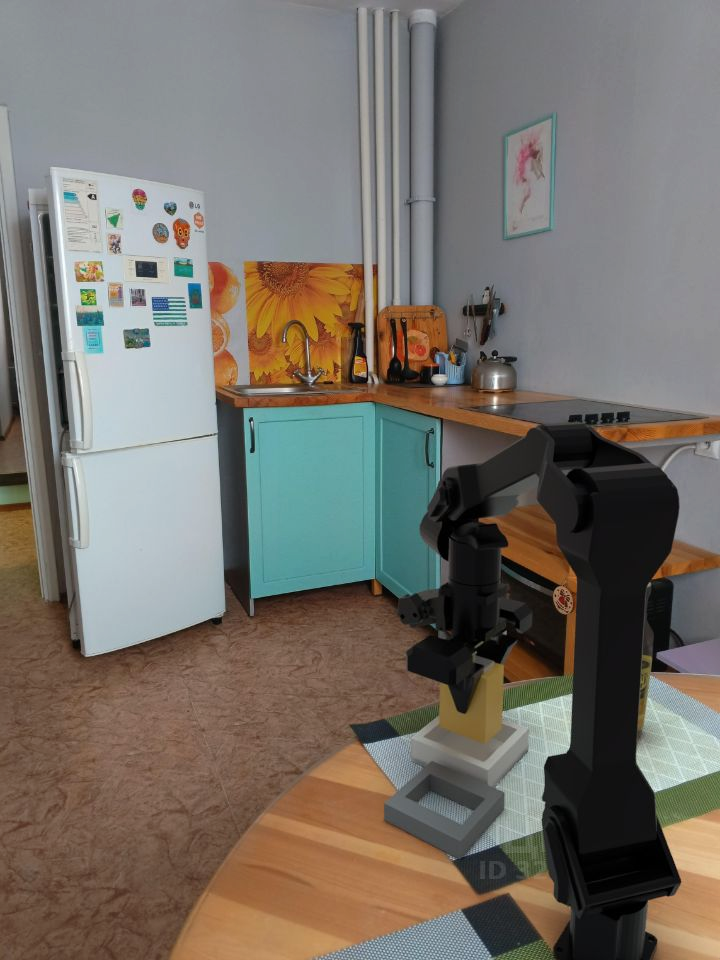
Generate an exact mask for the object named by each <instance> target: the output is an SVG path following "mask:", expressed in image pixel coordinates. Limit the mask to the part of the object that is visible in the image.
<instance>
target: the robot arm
mask: <svg viewBox="0 0 720 960" xmlns="http://www.w3.org/2000/svg"><path fill="white" fill-rule="evenodd" d="M536 488H537V491H536V492H537V493H536V501H537V502H538V504H539V505H540V506H541V508H542V509H544V511H545V512H546V514H547V515H548V516H549V517H550V518H551V520H552V521H553V522H554V523H555V533H556V544H557V547H558V548H559V550H560V552H561V553H562V555H563V556H564V558H565V560H566V562H567V563H568V565H569V566H570V568H571V570H572V571H573V573H574V575H575V576H576V596H575V597H576V598H575V618H574V619H575V620H574V621H575V622H574V644H573V645H574V646H573V647H574V648H573V673H572V694H571V695H572V696H571V719H570V722H571V723H570V743H569V748H568V750H567V751H566V752H565V753H560V754H559V753H558V754H554V755H548V756H547V757H546V761H545V763H544V765H543V775H544V779H543V780H544V788H543V792H542V796H541V801H542V802H544V808H543V809H544V810H543V811H542V814H541V820H540V821H541V827H542V835H543V836H542V837H543V844H544V852H545V859H546V867H547V871H548V875H549V878H550V879H551V881H552V883H553V897H554V899H555V900H556V902H557V903H559V904H562V905H565V906H567V907H568V908H569V907H570V914H569V915H570V917H569V921H568V923H567V924H566V925H565V927H564V929H563V931H562V932H561V934H560V935H559V937H558V938H557V940H556V942H555V943H554V945H553V949H552V954H553V956H554V957H555V958H556V959H558V960H652V958H653V956H654V954H655V952H656V949H657V948H658V938H657V937H656V936H655V935H654V934H651V933H650V932H648V931H646V929H647V919H648V906H649V901H652V900H656V899H659V898H664V897H667V898H670V897H673V896H675V895H676V893H677V891H679V889H680V887H681V886H682V885H681V884H682V879H681V876H680V873H679V871H678V868H677V866H676V863H675V860H674V858H673V855H672V852H671V849H670V847H669V845H668V842H667V839H666V837H665V834H664V831H663V829H662V826H661V823H660V820H659V818H658V815H657V804H656V793H655V791H654V789H653V788H652V785H651V784H650V783H649V781H648V780H647V778H646V777H645V774H644V773H643V771H642V770H641V768H640V767H639V765H638V763H637V749H638V748H637V747H638V739H637V735H638V719H639V702H640V686H641V670H642V653H643V637H644V621H645V604H646V591H647V586H648V584H649V583H651V581H652V580H653V578H654V577H655V576H656V574H657V573H658V572H659V570H660V569H661V567H662V566H663V564H664V563H665V561H666V560H667V558H668V557H669V555H670V554H671V552H672V550H673V545H674V541H675V535H676V531H677V526H678V520H679V516H680V515H679V514H680V508H681V507H680V505H681V504H680V494H679V490H678V488H677V486H676V485H675V484H674V483H673V481H672V480H671V479H670V478H669V477H668V474H666V472H665V471H664V470H663V469H662V467H660V466H657V465H656V464H653V462H651V461H650V460H649V459H648V458H647V457H645V456H644V455H643V454H641V453H640V452H638V451H636V450H633V449H630V448H629V447H626V446H624V445H622V444H620V443H617V442H615V441H613V440H610V439H608V438H607V437H603V436H602V435H601V434H600V433H599V432H598V431H597V430H596V429H595V428H594V427H593V426H591V425H590V424H585V423H583V422H581V421H572V422H569V421H568V422H551V423H540V424H537V425H536V426H535V427H532V428H531V427H530V429H528V431H527V432H526V434H525V435H524V436H523V437H521V438H519V439H518V440H517V441H514V442H513V443H511V444H510V445H509V446H507V447H506V448H503V449H502V450H501V451H499V452H497V453H496V454H494V455H492V456H490V457H489V458H487V459H486V460H484V461H482V462H479V463H471V464H462V465H455V466H450V467H446V469H445V470H444V472H443V473H442V475H441V478H440V479H439V481H438V484H437V486H436V489H435V492H434V493H433V496H432V497H431V500H430V501H429V504H428V505H427V507H426V508H427V512H426V513H425V514H424V516H423V517H422V519H421V522H420V524H419V534H420V535H419V536H420V538H421V540H422V541H423V542H424V543H425V545H427V546H428V547H429V548H430V549H431V550H433V552H435V554H437V555H438V556H439V557H441V558H442V559H443V560H444V561H446V562H448V574H447V575H448V580H447V582H446V583H444V584H442V585H440V587H439V588H432V589H426V590H422V591H419V592H414V593H413V594H409V593H407V594H404V595H403V596H402V597H400V598H399V597H398V606H397V607H398V608H397V616H398V618H399V620H400V623H402V624H403V626H406V625H407V626H408V627H409V628H410V629H412V628H417V627H418V626H426V625H435V630H437V631H439V632H443V633H445V632H449V634H450V636H448V637H447V638H441V637H440V636H439V637H438V636H435V635H432V634H430V635H428V636H427V637H425V638H424V639H421V640H420V641H419V642H417V643H416V644H414V645H413V646H411V647H410V648H409V649H408V650H406V652H405V668H406V671H407V672H409V673H413V674H415V675H418V676H421V677H425V678H427V679H430V680H432V681H434V682H435V681H436V682H438V683H440V682H441V683H443V684H446V685H448V687H449V690H450V693H451V695H452V698H453V701H454V704H455V707H456V709H457V711H458V712H460V713H463V714H466V713H467V711H468V709H469V706H470V704H471V701H472V699H473V696H474V693H475V690H476V688H477V685H478V682H479V680H480V677H481V674H482V672H483V669H484V665H481V664H478V663H475V655H476V656H479V657H482V658H486V659H489V660H492V661H494V662H495V663H498V664H501V665H504V664H505V662H506V660H507V658H508V656H509V655H510V653H511V651H512V649H513V648H514V646H515V645H516V644H517V642H518V638H517V637H516V636H512V635H508V634H507V629H506V628H507V622H511V623H515V624H514V629H515V631H517V633H518V634H524V633H525V632H527V631H528V630H529V629H530V628H532V626H533V610H532V609H531V608H530V606H529V605H528V604H527V603H526V602H522V601H519V600H515V599H511V598H507V597H503V596H505V595H506V594H507V593H508V584H507V583H503V582H501V575H502V574H501V571H502V570H501V569H502V567H501V566H502V549H503V548H504V549H505V548H508V547H509V545H510V544H509V541H508V537H506V535H505V534H503V532H502V531H501V530H500V528H499V526H498V524H497V523H485V522H483V521H482V522H481V521H479V520H480V519H487V518H495V517H497V518H498V517H505V516H507V515H508V514H509V513H511V511H513V510H514V509H515V508H516V507H517V506H518V504H519V496H520V495H522V494H524V493H527V492H529V491H532V490H533V489H536Z"/></svg>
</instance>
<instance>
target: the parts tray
mask: <svg viewBox="0 0 720 960" xmlns="http://www.w3.org/2000/svg"><path fill="white" fill-rule="evenodd" d="M529 737H530V728H529V727H526V726H524V725H521V724H518V723H517V722H516V723H515V722H513V721H511V720H508V719H505V718H502V729H501V730H500V731H499V732H498V733H497V734H496V735H495V736H494V737H492V738H491V739H490V740H489V741H488V742H487V743H486V744H482V743H480V742H477V741H475V740H472V739H469V738H467V737H464V736H462V735H459V734H457V733H454V732H452V731H449V730H447V729H444V728H442V727H439V715H437V716H436V717H435V718H434V719H432V720H431V721H430V722H428V723H427V724H426V725H425V726H423V728H421V729H420V730H419V731H417V732H416V733H415V734H413V736H411V737H410V762H413V763H415V764H418V765H420V766H421V767H423V768H424V767H425V766H426V765H428V764H429V763H430V762H431V761H433V762H436V763H438V764H440V765H443V766H445V767H447V768H450V769H452V770H454V771H457V772H459V773H461V774H463V775H466V776H468V777H470V778H473V779H475V780H477V781H480V782H482V783H484V784H487V785H489V786H491V787H493V788H496V786H497V785H498V784H499V783H500V782H501V781H502V780H503V779H504V777H505V776H506V775H507V774H508V773H509V772H510V771H511V770H512V769H513V768H514V767H515V766H516V764H517V763H518V762H519V761H521V759H522V758H523V757H524V756H525V755H526V754H527V753H528V752H527V751H529V743H530V742H529ZM526 752H527V753H526ZM525 753H526V754H525Z"/></svg>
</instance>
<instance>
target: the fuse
mask: <svg viewBox="0 0 720 960" xmlns="http://www.w3.org/2000/svg"><path fill="white" fill-rule="evenodd" d="M475 663H478V664H481V665H484V669H483V672H482V674H481V677H480V680H479V682H478V685H477V688H476V690H475V693H474V696H473V699H472V701H471V704H470V706H469V709H468V711H467V713H466V714H463V713H460V712H458V711H457V709H456V707H455V704H454V701H453V698H452V695H451V693H450V690H449V687H448V685H446V684H443V683H441V682H439V712H438V713H439V714H438V716H439V727H442V728H444V729H447V730H449V731H452V732H454V733H457V734H459V735H462V736H464V737H467V738H469V739H472V740H475V741H477V742H480V743H482V744H486V743H487V742H488V741H489V740H490V739H491V738H492V737H494V736H495V735H496V734H497V733H498V732H499V731H500V730H501V729H502V719H503V706H504V704H503V701H504V700H503V699H504V698H503V697H504V676H505V675H504V674H505V673H504V671H505V670H504V669H505V665H504V664H503V665H501V664H498V663H495V662H494V661H492V660H489V659H486V658H482V657H479V656H476V655H475Z"/></svg>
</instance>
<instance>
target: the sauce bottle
mask: <svg viewBox="0 0 720 960" xmlns="http://www.w3.org/2000/svg"><path fill="white" fill-rule="evenodd" d="M651 593H652V583H651V582H650V583H649V584H648V586H647V591H646V604H645V621H644V637H643V653H642V670H641V686H640V702H639V719H638V735H637V740H638V739H639V737H641V734H642V731H643V728H644V725H645V719H646V709H647V702H648V696H649V689H650V680H651V673H652V672H651V671H652V662H653V651H654V641H655V640H654V637H655V635H654V632H653V628H652V627H651V626H650V624H649V622H648V613H647V612H648V603H649V598H650V596H651Z"/></svg>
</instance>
